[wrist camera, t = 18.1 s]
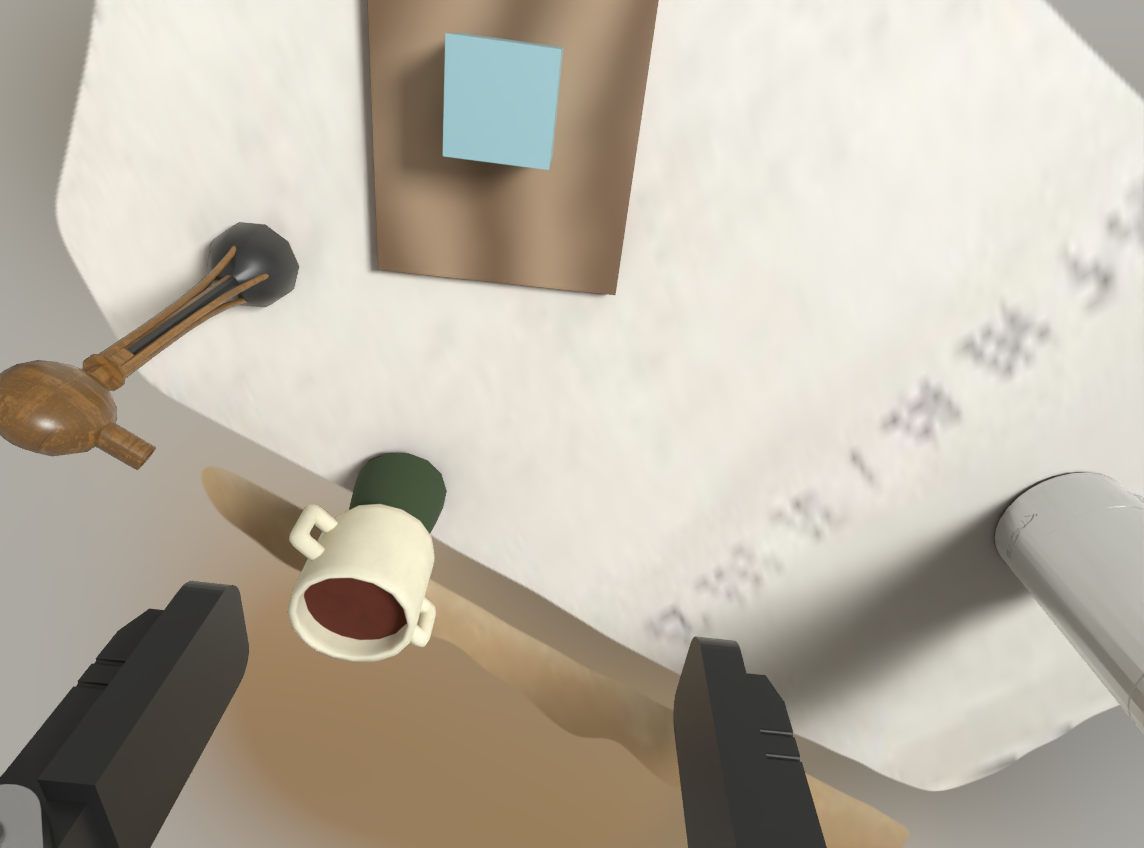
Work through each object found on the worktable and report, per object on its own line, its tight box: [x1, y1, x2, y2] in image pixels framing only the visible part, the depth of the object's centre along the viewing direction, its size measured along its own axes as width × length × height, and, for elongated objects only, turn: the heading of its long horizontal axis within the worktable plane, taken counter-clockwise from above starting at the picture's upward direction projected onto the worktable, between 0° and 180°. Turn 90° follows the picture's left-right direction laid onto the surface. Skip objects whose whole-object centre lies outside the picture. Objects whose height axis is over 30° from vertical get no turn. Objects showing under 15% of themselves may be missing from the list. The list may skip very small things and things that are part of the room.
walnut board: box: [367, 0, 658, 295], centre depth 35 cm, size 14×20×1 cm
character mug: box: [288, 453, 447, 662], centre depth 43 cm, size 11×7×13 cm, turn 37°
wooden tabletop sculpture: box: [0, 222, 299, 470], centre depth 32 cm, size 6×5×20 cm
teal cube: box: [443, 33, 563, 170], centre depth 32 cm, size 5×5×5 cm
